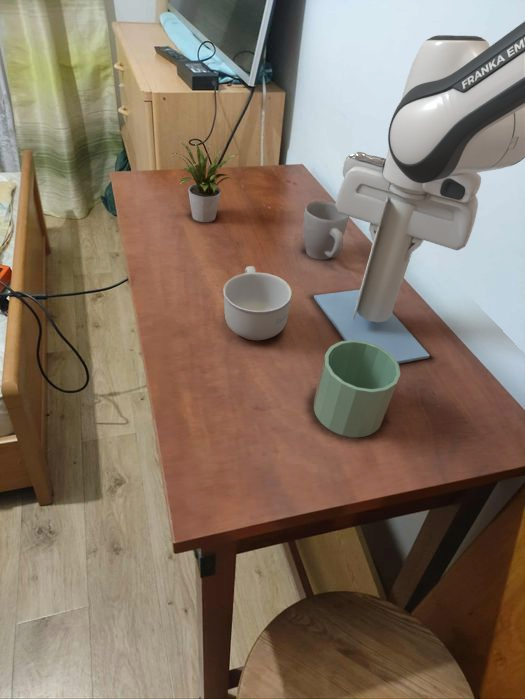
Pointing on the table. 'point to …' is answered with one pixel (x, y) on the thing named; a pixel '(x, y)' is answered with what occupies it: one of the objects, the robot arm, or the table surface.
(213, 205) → the house plant
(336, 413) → the sage green pencil cup
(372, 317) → the paper towel roll
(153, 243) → the table surface
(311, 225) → the mug
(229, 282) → the teacup
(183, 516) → the table surface
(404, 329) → the mat
